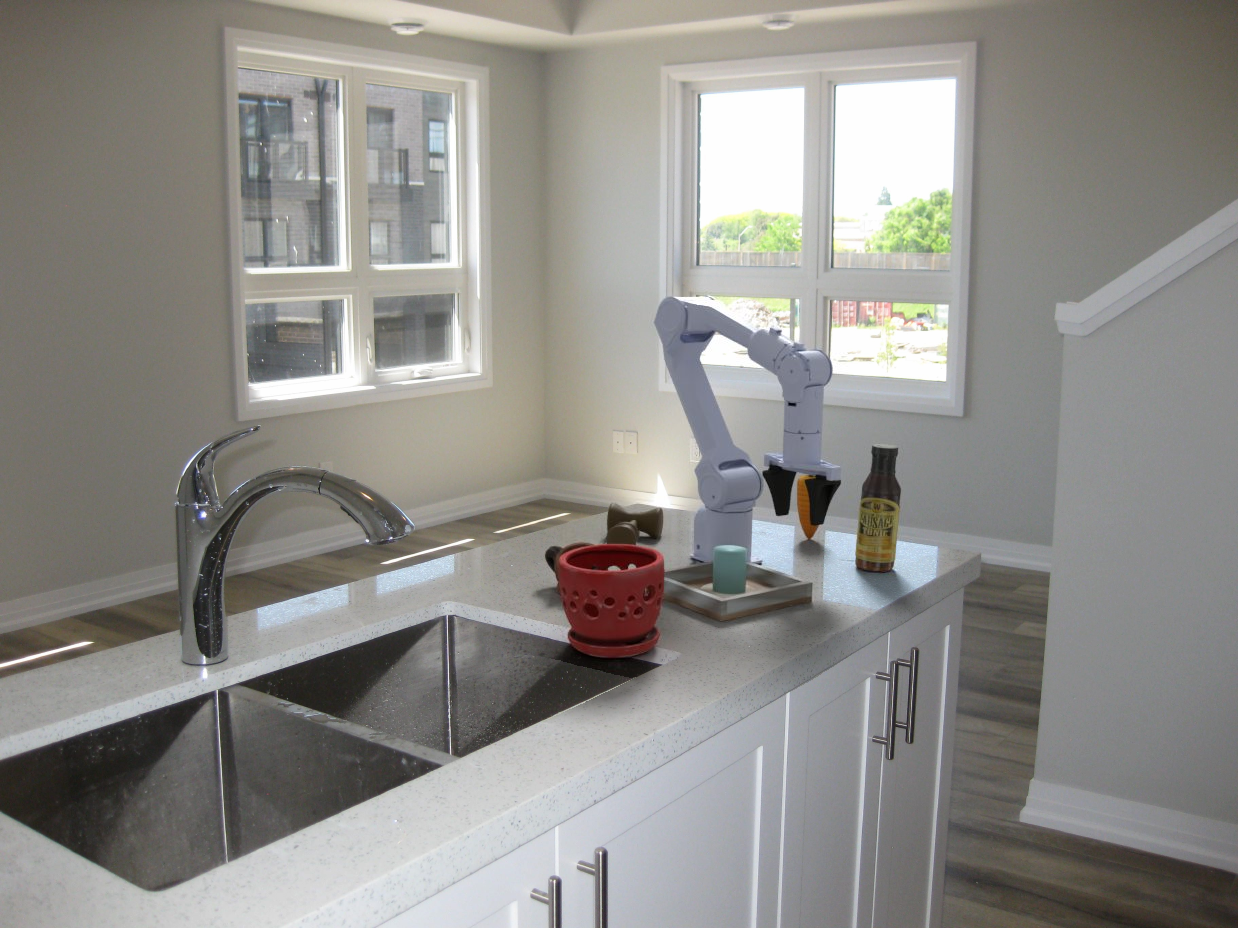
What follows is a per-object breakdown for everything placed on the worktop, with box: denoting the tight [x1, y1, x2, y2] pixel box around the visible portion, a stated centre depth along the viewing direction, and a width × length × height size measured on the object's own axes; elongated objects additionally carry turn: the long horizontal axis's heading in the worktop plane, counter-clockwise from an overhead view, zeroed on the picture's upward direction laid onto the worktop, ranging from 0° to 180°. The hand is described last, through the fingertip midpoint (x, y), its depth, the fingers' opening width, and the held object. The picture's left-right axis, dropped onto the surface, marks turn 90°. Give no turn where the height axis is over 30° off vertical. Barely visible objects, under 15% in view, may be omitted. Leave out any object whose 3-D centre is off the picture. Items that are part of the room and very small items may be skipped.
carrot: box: [796, 474, 820, 540], centre depth 201 cm, size 5×5×15 cm
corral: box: [645, 561, 813, 622], centre depth 167 cm, size 17×17×3 cm
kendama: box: [605, 502, 664, 545], centre depth 200 cm, size 6×10×20 cm
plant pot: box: [558, 543, 666, 659], centre depth 143 cm, size 13×13×12 cm
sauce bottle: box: [854, 443, 902, 573], centre depth 182 cm, size 7×6×20 cm
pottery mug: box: [544, 541, 610, 597], centre depth 169 cm, size 12×10×8 cm
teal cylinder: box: [713, 545, 747, 594], centre depth 167 cm, size 5×5×6 cm
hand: (799, 519), depth 175 cm, fingers open, 7 cm apart
